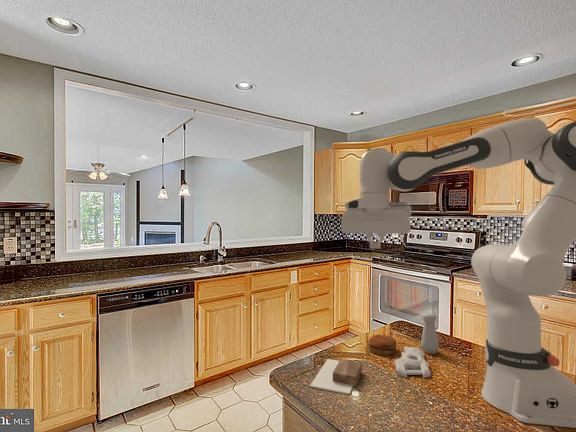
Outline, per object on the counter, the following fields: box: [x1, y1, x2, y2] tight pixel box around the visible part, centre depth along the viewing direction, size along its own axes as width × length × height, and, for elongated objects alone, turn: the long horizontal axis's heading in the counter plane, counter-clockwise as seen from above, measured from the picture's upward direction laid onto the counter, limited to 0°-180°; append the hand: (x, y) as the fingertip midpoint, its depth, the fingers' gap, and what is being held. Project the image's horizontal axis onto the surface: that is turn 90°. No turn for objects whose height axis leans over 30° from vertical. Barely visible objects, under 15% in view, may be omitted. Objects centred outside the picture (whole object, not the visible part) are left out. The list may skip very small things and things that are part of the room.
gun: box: [394, 346, 431, 379], centre depth 102 cm, size 18×4×10 cm
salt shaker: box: [420, 312, 440, 355], centre depth 112 cm, size 6×6×13 cm
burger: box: [367, 333, 397, 356], centre depth 114 cm, size 10×9×5 cm
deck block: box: [333, 359, 363, 386], centre depth 94 cm, size 2×9×6 cm
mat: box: [309, 358, 354, 396], centre depth 96 cm, size 11×18×1 cm, turn 157°
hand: (375, 248), depth 98 cm, fingers closed
